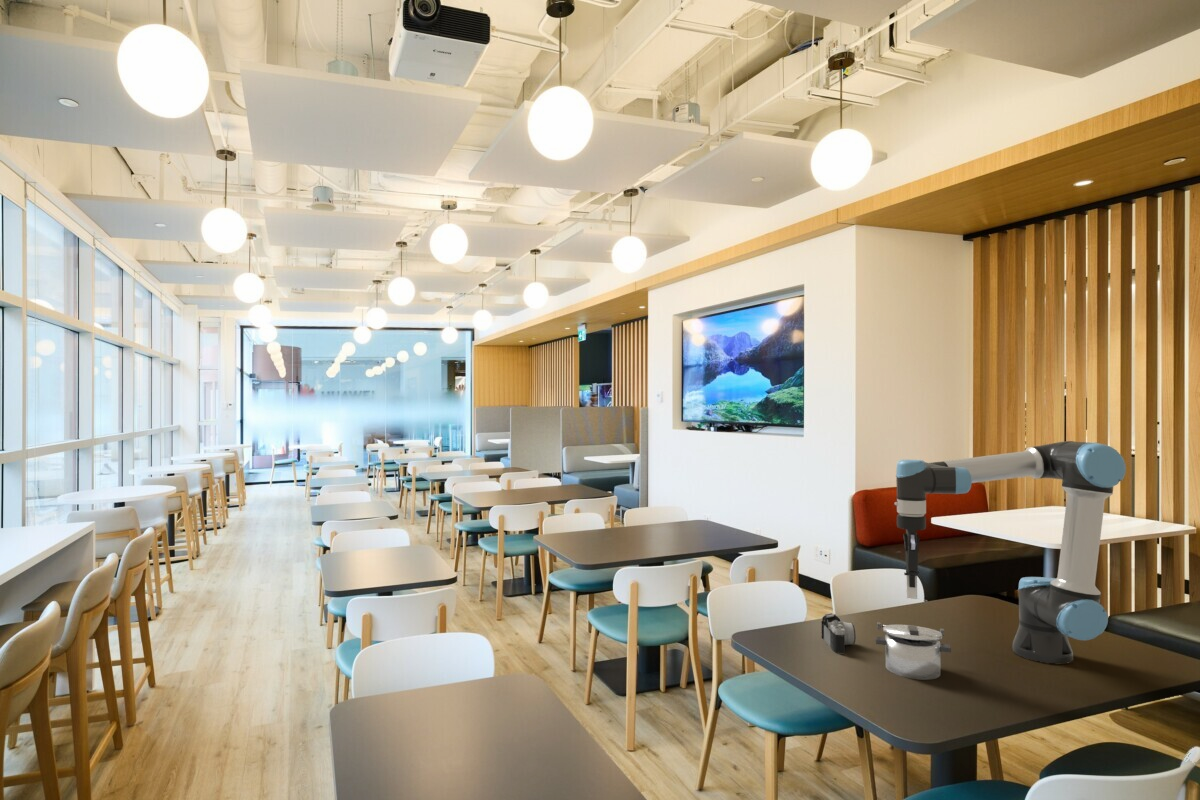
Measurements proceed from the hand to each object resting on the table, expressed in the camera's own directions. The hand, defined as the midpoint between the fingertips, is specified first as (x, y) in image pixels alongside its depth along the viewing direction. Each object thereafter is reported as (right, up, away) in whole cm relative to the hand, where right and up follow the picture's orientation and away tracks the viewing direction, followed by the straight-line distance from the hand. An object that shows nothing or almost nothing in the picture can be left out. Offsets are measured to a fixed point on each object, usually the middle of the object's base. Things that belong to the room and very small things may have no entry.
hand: (911, 597), depth 190 cm
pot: (0, -20, -1) cm, 20 cm away
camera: (-14, -21, +18) cm, 31 cm away
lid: (0, -11, -1) cm, 11 cm away
